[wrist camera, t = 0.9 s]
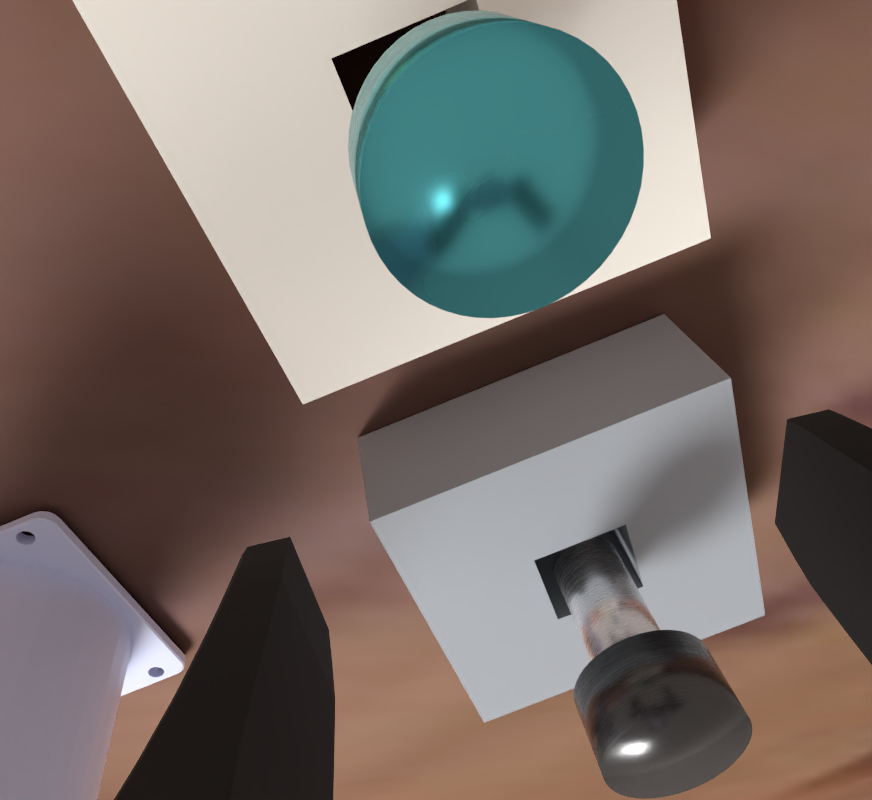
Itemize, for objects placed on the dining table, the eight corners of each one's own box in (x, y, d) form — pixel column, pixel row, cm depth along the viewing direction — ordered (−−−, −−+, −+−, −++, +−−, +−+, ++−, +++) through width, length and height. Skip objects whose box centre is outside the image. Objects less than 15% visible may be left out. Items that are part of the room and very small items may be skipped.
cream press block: (300, 330, 20) (302, 404, 17) (82, -79, 14) (22, -88, 11) (640, 190, 19) (711, 238, 16) (546, -285, 14) (625, -358, 11)
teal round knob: (375, 219, 15) (420, 357, 10) (300, 41, 13) (309, 97, 8) (535, 152, 15) (665, 257, 10) (482, -37, 13) (611, -31, 8)
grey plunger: (544, 619, 23) (619, 815, 18) (512, 544, 21) (587, 740, 16) (650, 578, 23) (759, 764, 17) (629, 498, 21) (743, 680, 15)
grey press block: (460, 631, 28) (484, 722, 24) (357, 437, 22) (369, 521, 19) (707, 535, 27) (764, 615, 24) (664, 313, 22) (730, 378, 18)
